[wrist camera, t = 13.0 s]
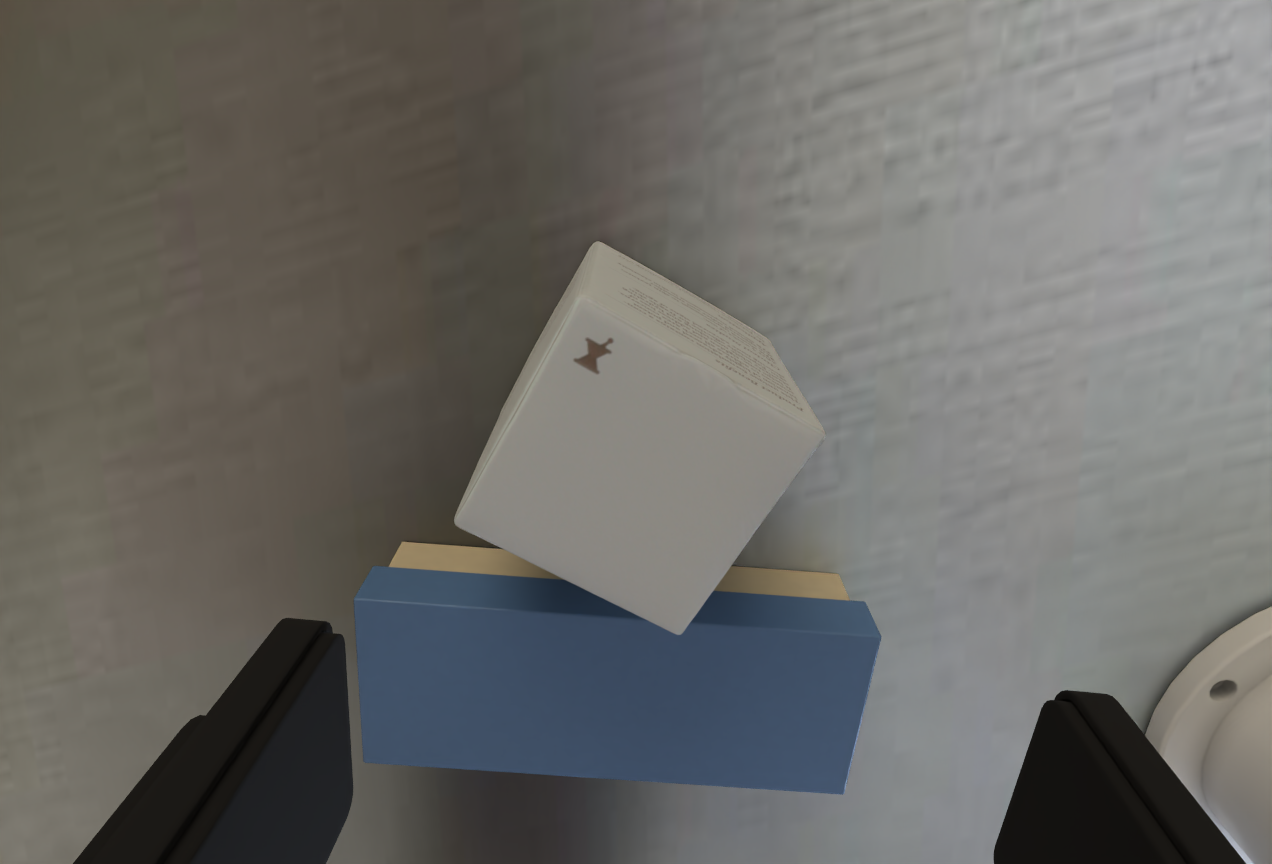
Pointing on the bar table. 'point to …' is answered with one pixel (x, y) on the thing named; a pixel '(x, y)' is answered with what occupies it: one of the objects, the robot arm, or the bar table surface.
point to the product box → (640, 443)
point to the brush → (610, 675)
